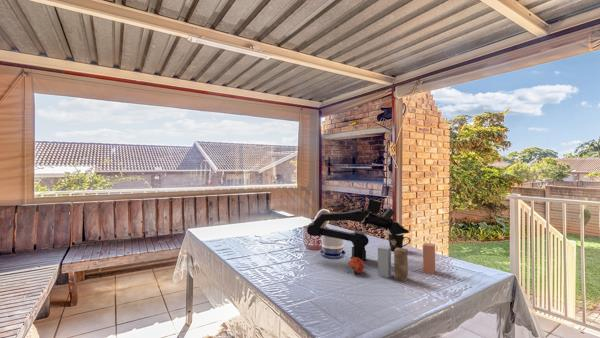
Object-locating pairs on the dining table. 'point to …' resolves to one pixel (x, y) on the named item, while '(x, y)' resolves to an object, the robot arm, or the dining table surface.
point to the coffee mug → (396, 241)
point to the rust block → (429, 258)
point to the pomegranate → (357, 264)
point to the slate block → (384, 261)
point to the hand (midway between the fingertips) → (406, 229)
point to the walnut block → (400, 264)
